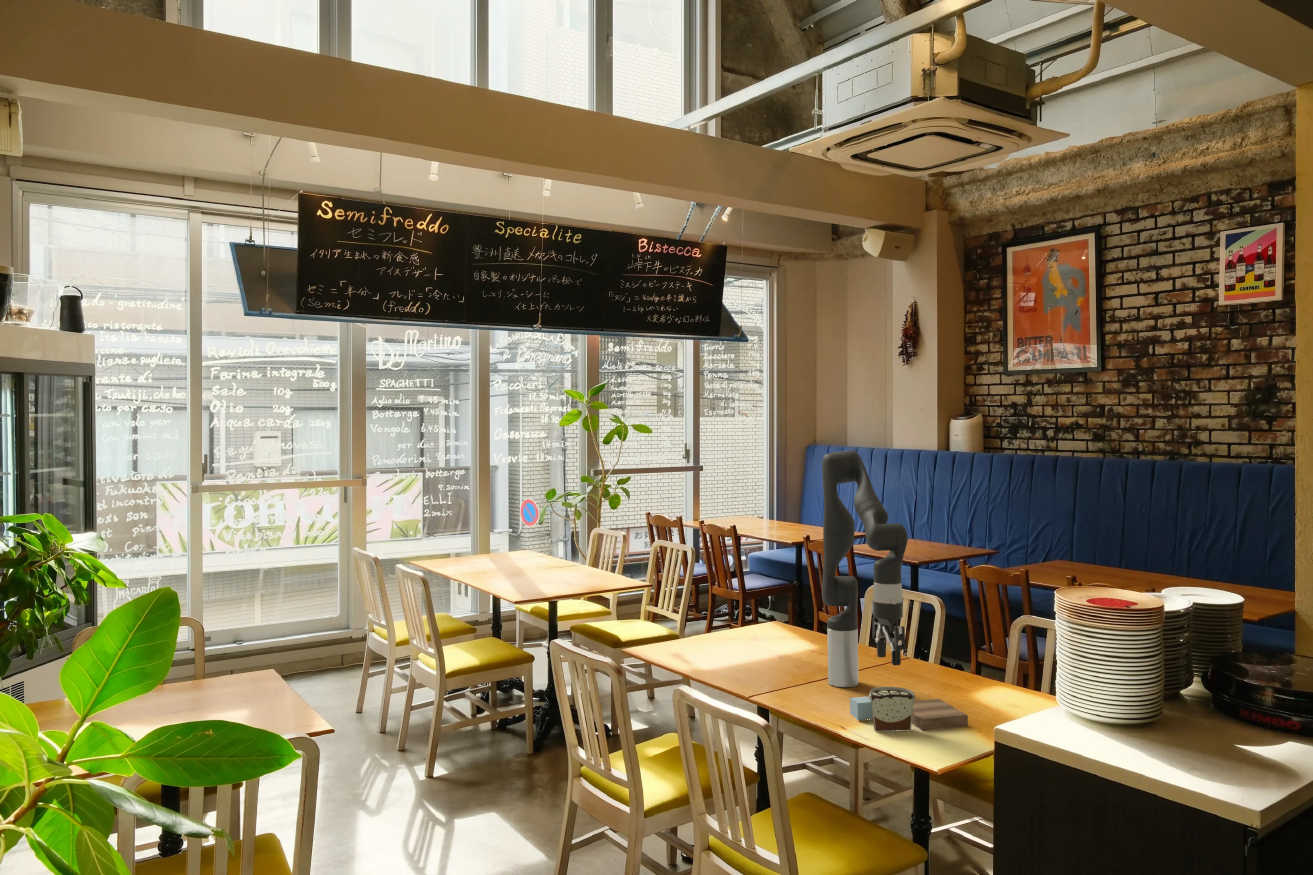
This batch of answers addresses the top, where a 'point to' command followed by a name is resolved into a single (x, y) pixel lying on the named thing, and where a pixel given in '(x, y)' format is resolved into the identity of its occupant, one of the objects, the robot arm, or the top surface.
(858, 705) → the slate cube
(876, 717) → the food container
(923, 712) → the walnut slab
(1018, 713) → the top surface
